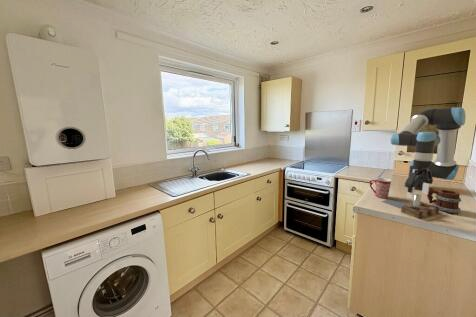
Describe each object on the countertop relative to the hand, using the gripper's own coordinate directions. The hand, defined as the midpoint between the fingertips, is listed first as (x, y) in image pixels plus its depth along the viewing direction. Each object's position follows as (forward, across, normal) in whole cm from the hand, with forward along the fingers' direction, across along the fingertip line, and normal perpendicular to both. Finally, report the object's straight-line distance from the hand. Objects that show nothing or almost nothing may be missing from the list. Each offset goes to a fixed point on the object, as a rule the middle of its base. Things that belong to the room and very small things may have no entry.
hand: (417, 195), depth 113 cm
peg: (+12, 0, 0) cm, 12 cm away
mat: (+12, -7, -14) cm, 19 cm away
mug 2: (+12, -22, +2) cm, 25 cm away
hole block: (+12, -4, 0) cm, 12 cm away
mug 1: (+12, -8, -27) cm, 30 cm away
